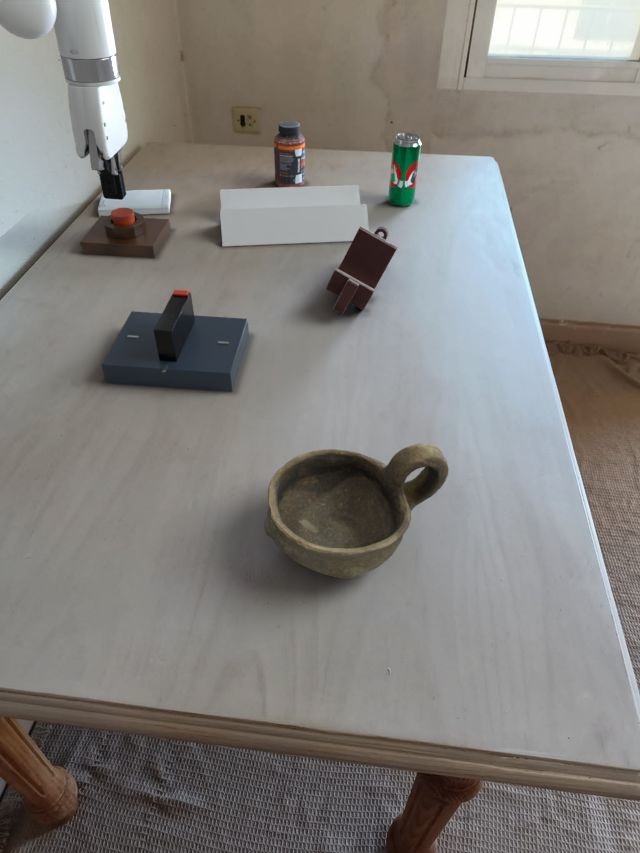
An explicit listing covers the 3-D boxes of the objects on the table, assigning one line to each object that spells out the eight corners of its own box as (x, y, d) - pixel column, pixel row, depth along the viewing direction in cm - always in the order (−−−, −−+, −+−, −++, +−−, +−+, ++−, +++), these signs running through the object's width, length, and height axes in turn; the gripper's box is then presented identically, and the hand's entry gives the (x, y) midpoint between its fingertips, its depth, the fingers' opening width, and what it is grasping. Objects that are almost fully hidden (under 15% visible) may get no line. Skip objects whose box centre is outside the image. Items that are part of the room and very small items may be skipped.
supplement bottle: (307, 188, 123) (308, 128, 116) (278, 191, 122) (276, 130, 115) (301, 177, 128) (301, 117, 120) (272, 179, 127) (270, 119, 119)
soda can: (414, 197, 121) (422, 132, 113) (413, 209, 117) (421, 142, 109) (388, 196, 122) (394, 130, 113) (386, 206, 118) (392, 140, 110)
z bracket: (363, 251, 114) (369, 240, 107) (224, 257, 111) (222, 246, 105) (358, 185, 114) (364, 170, 108) (220, 190, 112) (217, 174, 105)
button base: (83, 254, 103) (77, 231, 100) (103, 227, 110) (98, 205, 107) (154, 258, 102) (150, 235, 99) (171, 231, 109) (167, 208, 107)
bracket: (316, 303, 88) (349, 240, 82) (341, 269, 102) (370, 213, 96) (355, 325, 88) (389, 263, 82) (374, 287, 102) (404, 233, 97)
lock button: (110, 226, 102) (107, 216, 101) (117, 217, 105) (115, 206, 104) (131, 227, 102) (129, 217, 101) (138, 218, 105) (136, 208, 104)
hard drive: (97, 209, 112) (168, 205, 113) (102, 190, 118) (169, 187, 119) (99, 218, 113) (169, 214, 114) (104, 199, 119) (171, 195, 120)
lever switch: (104, 386, 78) (98, 366, 76) (136, 327, 88) (132, 307, 86) (231, 395, 77) (229, 375, 75) (249, 334, 87) (248, 315, 85)
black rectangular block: (176, 361, 77) (171, 329, 74) (159, 360, 77) (152, 328, 74) (195, 321, 84) (190, 289, 80) (178, 320, 84) (173, 288, 80)
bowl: (254, 496, 65) (248, 426, 59) (412, 468, 69) (423, 399, 62) (280, 611, 56) (276, 543, 49) (462, 572, 59) (483, 504, 52)
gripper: (84, 54, 94) (108, 178, 106) (43, 80, 83) (74, 215, 95) (134, 57, 93) (151, 181, 106) (98, 84, 82) (123, 218, 95)
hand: (115, 196), depth 100 cm, fingers closed
